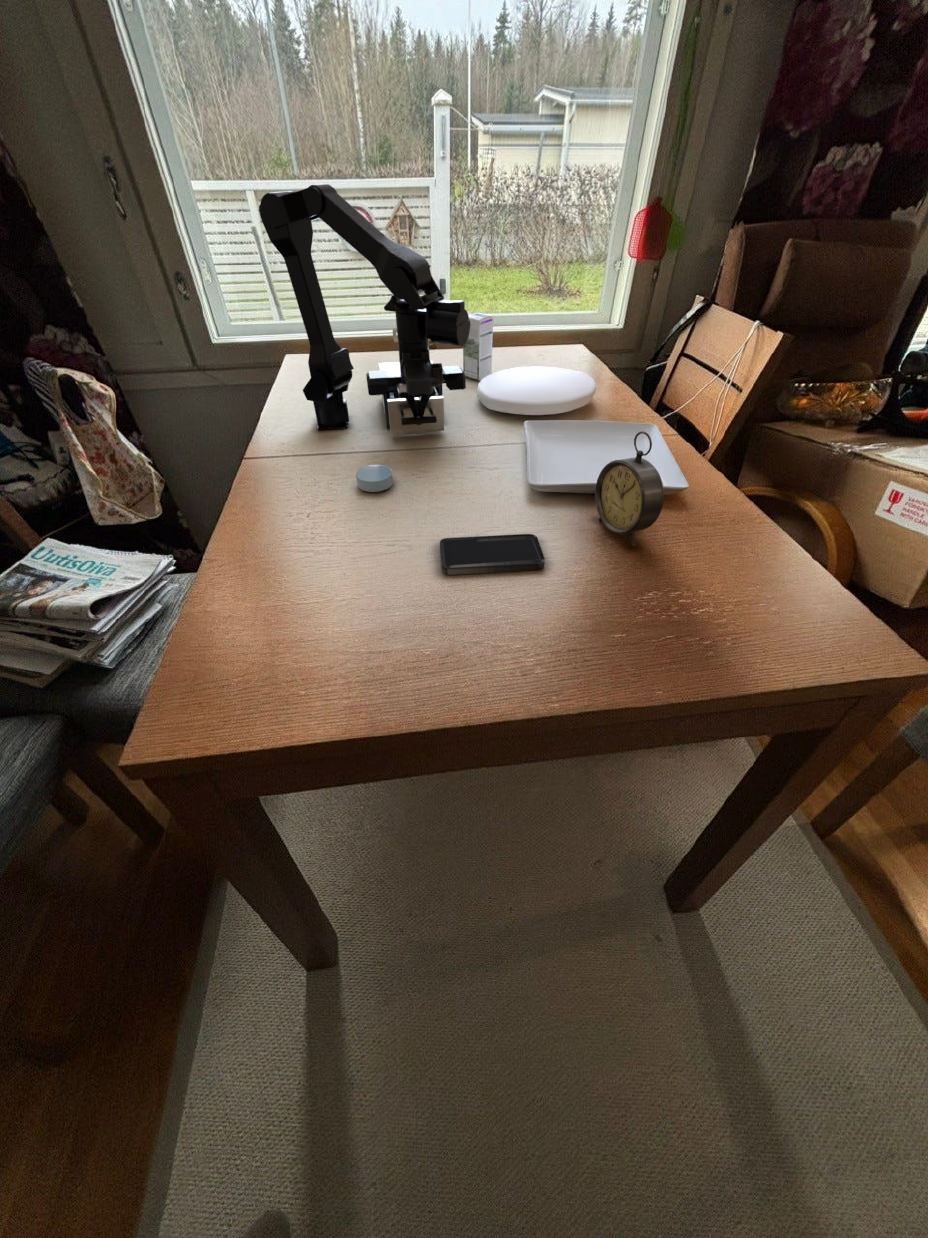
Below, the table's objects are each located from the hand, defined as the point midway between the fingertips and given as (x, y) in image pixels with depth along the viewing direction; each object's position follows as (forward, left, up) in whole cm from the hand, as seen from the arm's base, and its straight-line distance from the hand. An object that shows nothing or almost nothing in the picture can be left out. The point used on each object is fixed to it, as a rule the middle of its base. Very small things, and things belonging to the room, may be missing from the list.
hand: (418, 424), depth 103 cm
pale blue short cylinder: (-10, -18, -4) cm, 21 cm away
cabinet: (0, +16, -4) cm, 17 cm away
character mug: (+4, +44, -4) cm, 45 cm away
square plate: (+32, -18, -4) cm, 37 cm away
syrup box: (+20, +38, -4) cm, 43 cm away
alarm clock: (+28, -40, -4) cm, 49 cm away
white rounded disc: (+30, +17, -4) cm, 35 cm away
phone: (+6, -43, -4) cm, 43 cm away
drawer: (0, +8, -3) cm, 8 cm away
